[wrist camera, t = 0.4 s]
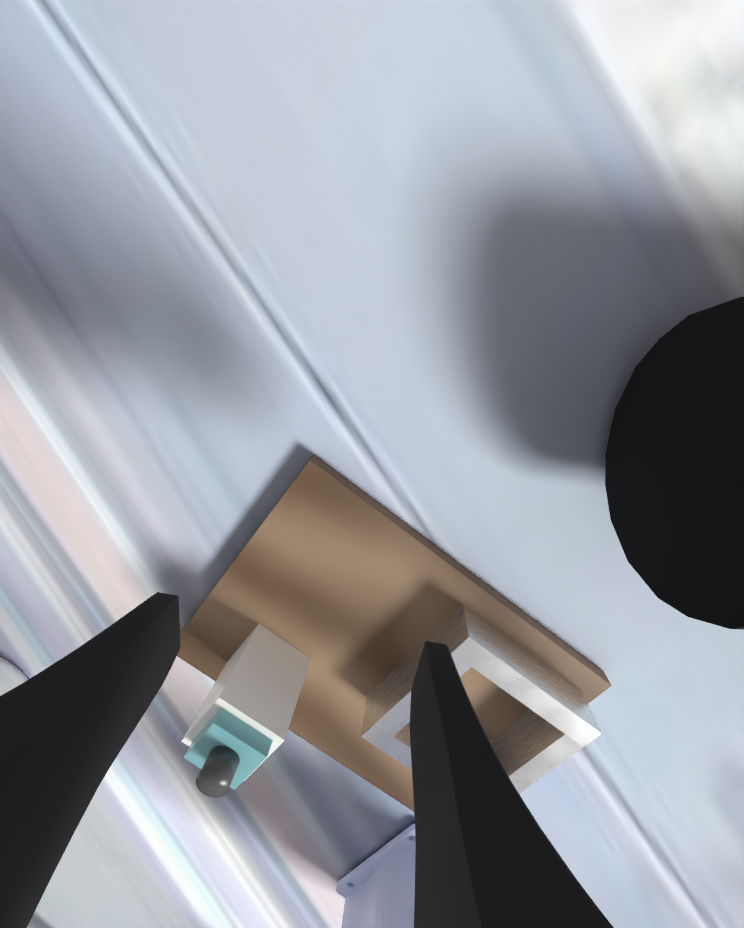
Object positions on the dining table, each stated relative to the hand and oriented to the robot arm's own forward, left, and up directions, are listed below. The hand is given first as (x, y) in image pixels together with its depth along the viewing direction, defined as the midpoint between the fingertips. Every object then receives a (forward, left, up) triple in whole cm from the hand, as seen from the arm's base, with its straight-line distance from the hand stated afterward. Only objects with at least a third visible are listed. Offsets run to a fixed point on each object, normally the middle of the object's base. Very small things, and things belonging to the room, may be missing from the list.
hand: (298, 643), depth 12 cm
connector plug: (-10, -2, -9) cm, 14 cm away
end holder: (-4, -12, -9) cm, 16 cm away
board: (-6, -7, -10) cm, 14 cm away
